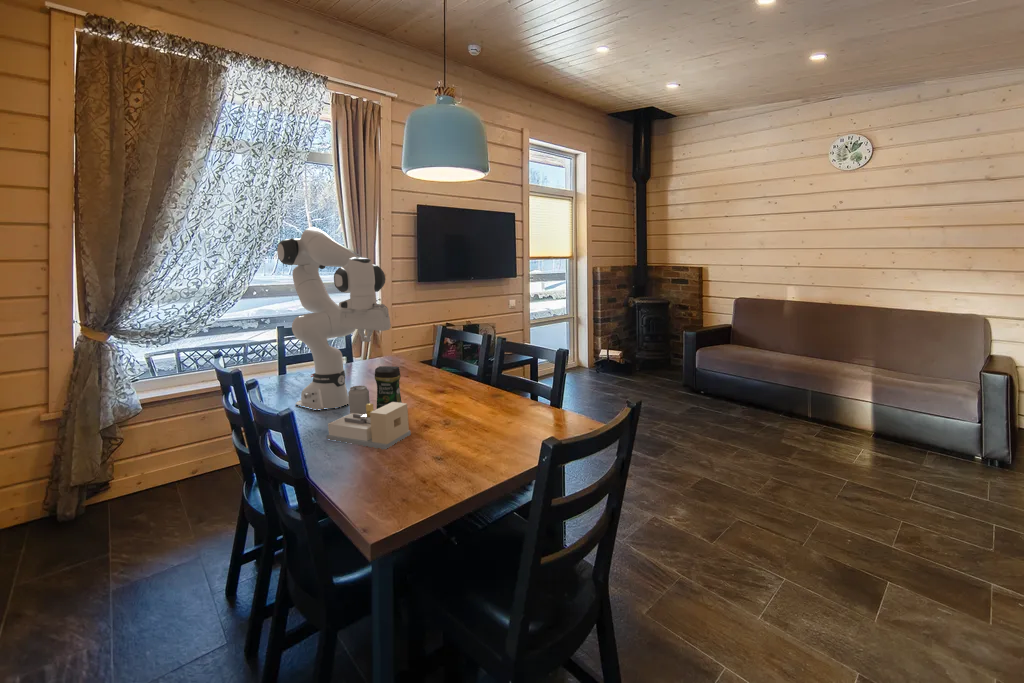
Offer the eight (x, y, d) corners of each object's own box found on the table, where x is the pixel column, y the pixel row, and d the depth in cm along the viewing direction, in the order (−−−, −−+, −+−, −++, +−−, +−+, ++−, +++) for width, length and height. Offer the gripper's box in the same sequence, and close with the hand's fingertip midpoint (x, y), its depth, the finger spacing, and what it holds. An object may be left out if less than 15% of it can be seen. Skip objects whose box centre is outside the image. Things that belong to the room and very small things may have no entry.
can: (349, 415, 190) (347, 385, 188) (369, 413, 193) (367, 383, 191) (350, 421, 184) (348, 390, 181) (371, 419, 186) (369, 388, 184)
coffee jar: (374, 415, 191) (370, 368, 187) (381, 408, 198) (378, 364, 195) (398, 415, 189) (395, 369, 186) (404, 409, 197) (402, 364, 194)
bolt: (360, 421, 166) (359, 404, 165) (366, 419, 168) (365, 402, 167) (384, 425, 162) (383, 408, 161) (390, 422, 165) (389, 405, 164)
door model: (327, 440, 166) (324, 407, 163) (355, 426, 178) (352, 396, 176) (385, 449, 156) (383, 415, 154) (410, 434, 169) (408, 402, 167)
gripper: (393, 303, 173) (395, 341, 176) (347, 301, 181) (349, 338, 184) (381, 305, 167) (384, 345, 170) (335, 303, 175) (338, 341, 178)
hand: (366, 341), depth 177 cm, fingers closed
